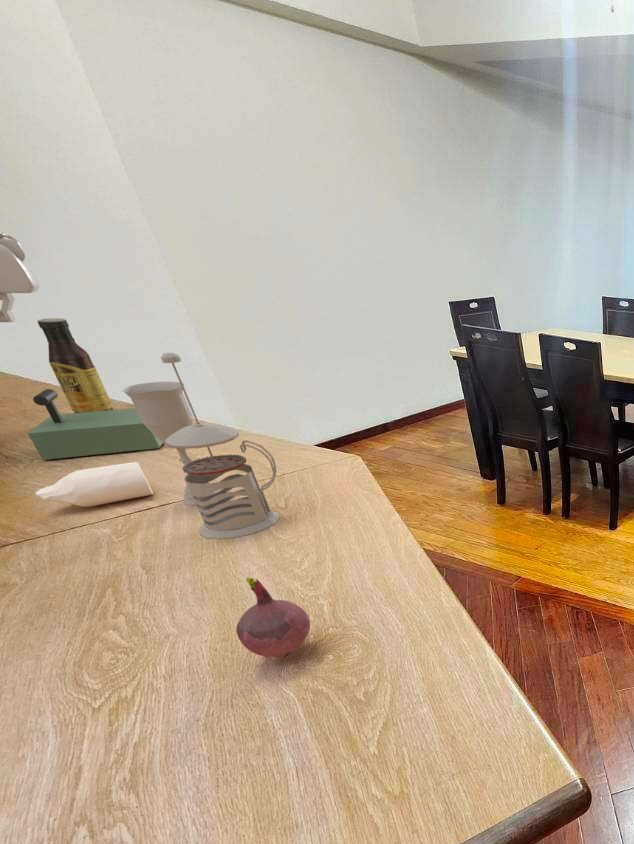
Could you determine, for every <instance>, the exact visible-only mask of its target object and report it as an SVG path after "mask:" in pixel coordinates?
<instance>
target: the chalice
mask: <svg viewBox="0 0 634 844" xmlns="http://www.w3.org/2000/svg"><path fill="white" fill-rule="evenodd" d="M182 384H183V386H184V385H185V384H184V383H183V382H182ZM184 387H185V386H184ZM122 392H123V393H124V394H125V395H126V396H128V397H129V398H130V399H131V402H132V404H133V406H134V408H136V410H137V412H138V415H139V417H140V419H141V421H142V423H143V424H144V425H145V426H146V427H147V428H148V429H149V430H150V431H151V432H152V434H154V435H155V436H156V437H157V438H158V439H160V440H161V441H162V442H163V443H162V444H164V445H165V446H166V447H167V448H170V449H174V448H173V447H171V446H169V445H167V444H166V443H165V442H166V439H167V438H168V437H169V436H171V435H172V434H174V433H175V432H177V431H178V430H180V429H182V428H184V427H186V426H191V425H194V415H193V413H192V410H191V408H190V406H189V403H188V401H187V398H186V396H185V394H184V391H183V389H182V387H181V384H180V382H179V381H152V382H151V381H150V382H144V383H138V384H133V385H129V386H127V387H125V388H122ZM175 449H176V450H177V452H178V453H179V462H181V463H182V464H183V466H185V465H186V464H187V463H188V462H190V463H191V462H192V461H193V457H191V456H190V455H189V453H188V452H187V449H181V448H175ZM183 473H185V474H186V475H188V474H189V473H187V472H185V471H183ZM219 491H220V490H218V491H215V492H213V493H211V494H209V495H207V496H210V495H213V494H215V493H217V492H219ZM183 492H184V494H183V502H182V503H183V504H184V505H187V506H196V504H195V501H194V499H193V497H192V495H191V493H190V490H189V488H188V486H187V485H186V486H185V488H184V489H183Z"/></svg>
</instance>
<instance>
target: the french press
mask: <svg viewBox="0 0 634 844" xmlns="http://www.w3.org/2000/svg"><path fill="white" fill-rule="evenodd" d="M160 358H161V361H162V363H163V364H171V365H172V368H173V370H174V372H175V374H176V377H177V379H178V382H180V384H181V387H182V389H183V394H184V396H185V399H186V401H187V404H188V406H189V408H190V411H191V413H192V415H193V418H194V421H195V424H193V425H191V426H186V427H184V428H182V429H180V430H178V431H177V432H175V433H174V434H172V435H171V436H169V437H168V438H167V439H166V442H165V443H166V444H167V445H169V446H171V447H173V448H172V449H176V448H181V449H186V450H188V449H189V450H190V449H202V448H207V450H208V454H209V455H210V456H206V457H205V456H204V457H201V458H198V459H194V460H192V462H191V463H190V462H188V463H187V464H186V465H183V466H182V471H183V472H184V471H185V472H187V473H189V474H187V473H186V475H185V476H184V481H185V485H186V486H188V488H189V490H190V493H191V495H192V497H193V499H194V501H195V504H196V505H195V506H196V508H197V511H198V512H199V515H200V518H201V519H202V521H203V523H202V525H200V527H199V529H198V535H200V536H202V537H204V538H206V539H214V540H215V539H216V540H221V539H233V538H234V539H235V538H238V537H243V536H249V535H252V534H255V533H259V532H261V531H264V530H266V529H268V528H269V527H271V526H273V525H275V524H276V523H277V522H278V521H279V519H280V514H279V513H278V512H276V511H274V510H271V508H270V506H269V504H268V501H267V498H266V496H265V492H264V491H265V490H267V489H268V488H270V487H271V486H272V484H274V482H275V479H276V476H277V465H276V461H275V458H274V456H273V455H272V454H271V452H270V451H268V449H266V448H265V447H264V446H263V445H262V444H261V445H260V444H259V443H257V442H253V441H250V440H242V442H241V444H240V445H239V449H240V451H241V453H243V454H245V453H246V452H247V447H248V448H252V449H254V450H256V451H258V452H260V453H261V454H262V456H264V457H265V458H266V459H267V460H268V462H269V464H270V468H271V470H272V477H271V479H270V480H269V481H267V482H266V483H264V484H262V485H261V486H260V485H259V481H258V480H257V477H256V474H255V472H254V469H253V467H252V465H249V464H246V462H247V457H245V456H243V455H241V454H230V453H229V454H220V455H219V454H218V455H213V453H212V451H211V448H210V447H215V446H220V445H223V444H226V443H230V442H232V441H235V440H236V439H237V438H238V437H239V436H240V430H239V429H237V428H235V427H231V426H228V425H225V424H221V423H216V422H215V423H212V422H211V423H201V422H199V419H198V418H197V415H196V412H195V410H194V407H193V406H192V403H191V401H190V398H189V396H188V394H187V390H186V389H185V386H183V384H184V383H183V381H182V379H181V376H180V375H179V372H178V370H177V368H176V365H175V363H180V362H182V359H181V357H180V356H179V354H177V353H174V352H164V353H162V355H161V356H160ZM182 383H183V384H182ZM247 443H249V444H247ZM250 444H252V445H250ZM167 445H166V446H167ZM254 445H255V446H256V447H255V446H254ZM258 447H259V448H261V449H262V450H261V449H259V448H258ZM231 471H232V472H233V471H240V472H245V474H241V473H235V474H231V475H228V476H225V477H224V478H223V479H221V480H220V481H218V482H213V481H215V480H217V479H218V478H219V477H221V476H223V475H224V474H226V473H229V472H231ZM185 472H184V473H185ZM236 488H243V489H239V490H235V491H231V490H232V489H236ZM215 491H219V492H217V493H215V494H213V495H210V496H207V495H209V494H211V493H213V492H215ZM240 496H241V497H240ZM242 496H243V497H242ZM235 497H239V498H237V499H233V498H235Z"/></svg>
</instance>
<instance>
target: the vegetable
mask: <svg viewBox="0 0 634 844" xmlns="http://www.w3.org/2000/svg"><path fill="white" fill-rule="evenodd" d="M245 581H246V582H247V584H248V585H249V587H250V590H251V591H252V592H253V593H254V595H255V597H256V603H255V604H254V605H252V606H251V607H249V608H248V609H246V611H245V612H244V613H243V614H242V615H241V617H240V618H239V620H238V621H237V624H236V630H235V631H236V635H237V639H238V640H239V642H240V644H242V645H243V647H244V648H245V649H247V650H248V651H249V652H251V653H253V654H255V655H257V656H261V657H264V658H282V657H283V658H286V657H289V656H290V655H291V654H292V653H293V652H294V651H295V650H297V649H298V648H299V647H301V646H302V645H303V644H304V642H305V641H306V640H307V638H308V636H309V633H310V630H311V620H310V617H309V615H308V613H307V612H306V610H304V609H303V608H302V607H301V606H300V605H299V604H296V603H294V602H291V601H289V600H283V599H274V598H273V597H272V595H271V594H270V593H269V591H268V590H267V589H266V587H265V586H264V584H262V583H261V582H260V580H259V579H258V578H255V580H254V578H252V577H246V578H245Z"/></svg>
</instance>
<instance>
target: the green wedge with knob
mask: <svg viewBox="0 0 634 844" xmlns="http://www.w3.org/2000/svg"><path fill="white" fill-rule="evenodd" d="M58 397H59V394H58V393H57V391H55V390H54V389H50V388H47V389H44V390H43V391H41V392H40V393H39V392H38V394H36V395H35V396H34V397H33V398H32V401H33V403H34V404H36V405H38V406H43V407H45V408H46V410H47V412H48V414H49V416H48V418H46V419H44V420H43V421H42V422H40V423H39V424H38V425H36V426H35V427H34V428H33V429H31V430H30V431H29V432H27V435H28V437H29V438H30V440H31V442H32V443H33V445H34V448H35V449H36V450H37V453H38V454H39V456H40V457H41V459H42V460H43V461H47V460H56V459H66V458H67V459H68V458H77V457H85V456H97V455H105V454H106V455H107V454H115V453H125V452H134V451H145V450H154V449H160V448H161V446H162V445H163V444H164V443H163V442H162V441H161V440H160V439H158V438H157V437H156V436H155V435H154V434H152V432H151V431H150V430H149V429H148V428H147V427H146V426H145V425H144V424H143V423H142V421H141V419H140V417H139V415H138V412H137V410H136V408H135V407H133V408H123V409H113V410H108V411H95V412H82V413H75V412H72V413H60V412H59V410H58V408H57V406H56V405H55V402H54V400H56V399H57V398H58Z"/></svg>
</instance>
